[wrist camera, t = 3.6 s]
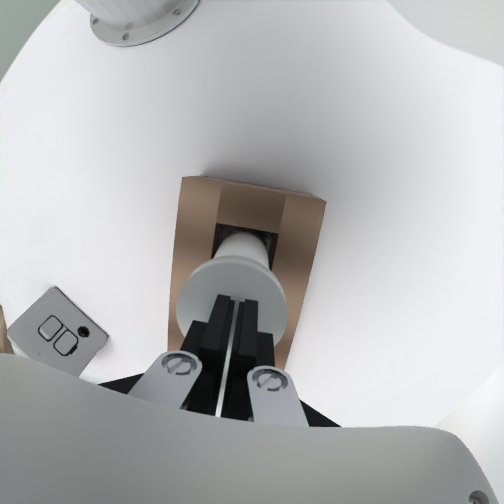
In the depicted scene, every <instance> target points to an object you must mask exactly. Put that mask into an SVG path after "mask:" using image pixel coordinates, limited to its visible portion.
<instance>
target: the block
mask: <svg viewBox="0 0 504 504" xmlns="http://www.w3.org/2000/svg"><path fill="white" fill-rule="evenodd" d="M325 205H326V201H324V200H322V199H319V198H317V197H315V196H312V195H309V194H304V193H299V192H294V191H289V190H284V189H278V188H273V187H267V186H262V185H256V184H250V183H244V182H238V181H232V180H225V179H219V178H212V177H205V176H189V177H182V183H181V190H180V197H179V205H178V213H177V222H176V230H175V240H174V250H173V261H172V273H171V287H170V302H169V322H168V351H173V350H177V351H179V350H180V348H181V346H182V343H183V341H184V339H185V337H184V335H183V334H182V332H181V330H180V328H179V325H178V322H177V317H176V303H177V299H178V295H179V293H180V291H181V289H182V287H183V286H184V284H185V283H186V281H187V280H188V278H189V277H190V275H191V274H192V273H193V271H194V270H195V269H196V268H198V267H199V266H200V265H201V264H203V263H205V262H206V261H208V260H211V259H213V258H214V256H215V254H216V252H217V250H218V249H219V247H220V245H221V239H222V232H223V226H224V224H226V225H232V226H238V227H244V228H250V229H256V230H262V231H267V232H272V236H271V241H270V246H269V251H268V263H269V270H270V271H271V272H272V273H273V274H274V275H275V276H276V277H277V279H278V281H279V282H280V284H281V286H282V288H283V292H284V295H285V300H286V305H287V313H288V318H287V325H286V329H285V332H284V334H283V336H282V338H281V339H280V341H279V342H278V343H277V344H276V345H275V346H274V356H275V367H276V368H279V369H281V370H283V371H284V368H285V364H286V361H287V358H288V354H289V351H290V348H291V344H292V341H293V337H294V334H295V330H296V326H297V323H298V319H299V315H300V312H301V308H302V304H303V300H304V296H305V292H306V289H307V285H308V281H309V277H310V272H311V268H312V264H313V260H314V256H315V251H316V247H317V243H318V238H319V234H320V229H321V225H322V220H323V215H324V210H325Z"/></svg>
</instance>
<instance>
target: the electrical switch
mask: <svg viewBox="0 0 504 504" xmlns="http://www.w3.org/2000/svg"><path fill="white" fill-rule="evenodd" d="M81 334H82V335H81ZM7 337H8V339H9V340H10V341H11V343H12V344H13V345H14V346H15V347H16V348H17V349H18V350H19V351H20V352H21V353H22V354H23V355H24V356H25V357H26V358H29V359H32V360H35V361H37V362H40V363H43V364H45V365H48V366H50V367H53V368H55V369H58V370H60V371H63V372H65V373H68V374H70V375H73V376H75V377H79V375H80V374H81V373H82V371H83V370H84V369H85V367H86V366H87V365H88V363H89V362H90V361H91V359H92V358H93V357H94V355H95V354H96V353H97V352H98V350H99V349H101V348H102V347H103V345H104V344H105V342H106V340H107V336H106V334H105V333H104V332H103V331H102V330H101V329H100V328H98V327H97V326H96V325H95V324H94V323H93V322H92V321H90V320H89V319H88V318H87V317H86V316H85V315H84V314H83V313H82V312H81V311H79V310H78V309H77V308H76V307H75V306H74V305H73V304H72V303H71V302H70V301H69V300H68V299H67V298H66V297H65V296H64V295H63V294H62V293H61V292H60V291H59V290H58V289H56V288H50V289H49V290H48V291H47V292H46V293H45V294H44V295H43V296H41V297H40V298H39V299H38V300H37V301H36V302H35V303H34V304H33V305H32V306H31V307H30V308H29V309H27V310H26V311H25V312H24V313H23V314H22V315H21V316H20V317H19V318H18V319H17V320H16V321H15V322H14V323H13V324H12V325H11V326H10V327H9V328H8V330H7Z"/></svg>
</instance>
